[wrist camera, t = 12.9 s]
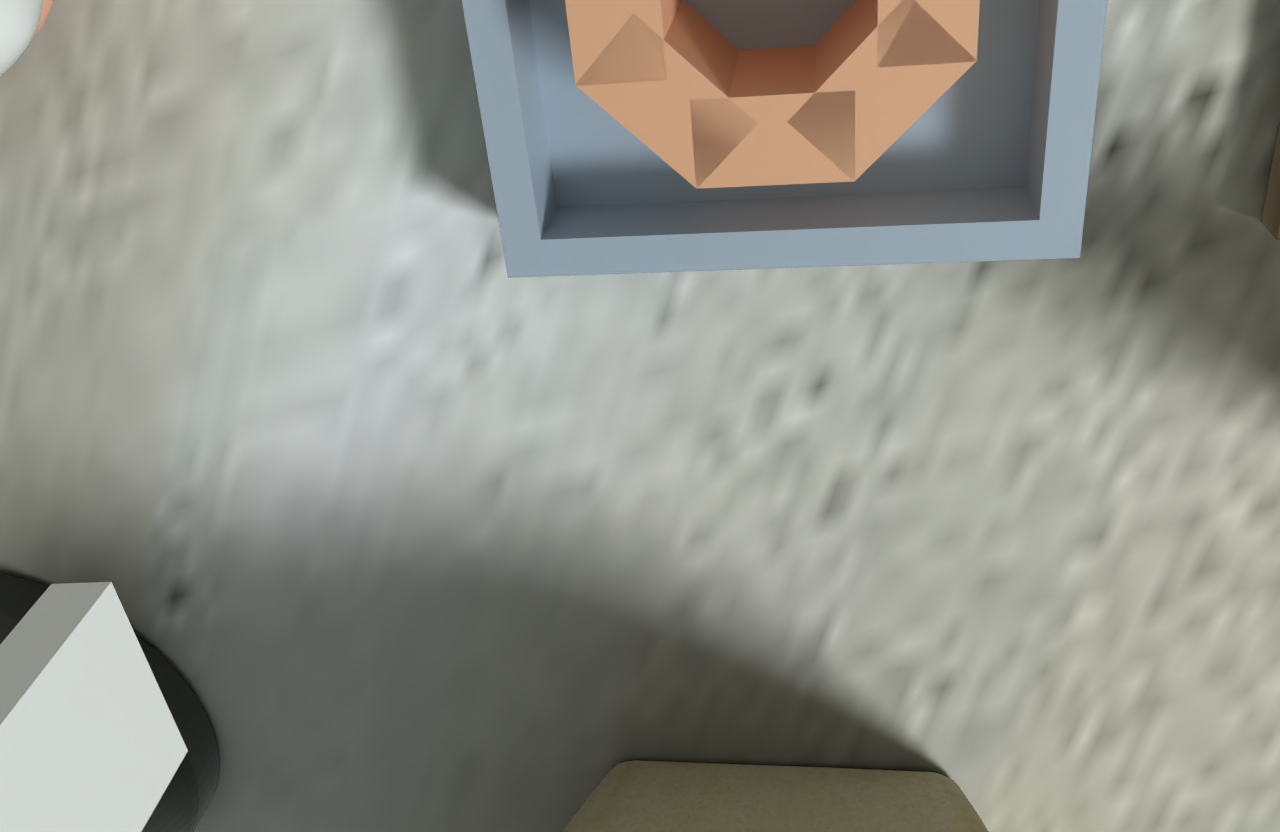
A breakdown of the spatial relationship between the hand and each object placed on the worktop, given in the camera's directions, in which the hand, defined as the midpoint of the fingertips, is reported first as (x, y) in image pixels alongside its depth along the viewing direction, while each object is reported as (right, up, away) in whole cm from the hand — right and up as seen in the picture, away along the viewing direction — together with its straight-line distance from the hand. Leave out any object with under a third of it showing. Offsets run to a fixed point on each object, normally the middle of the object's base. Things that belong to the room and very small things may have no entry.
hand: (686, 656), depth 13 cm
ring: (+3, +13, +14) cm, 20 cm away
